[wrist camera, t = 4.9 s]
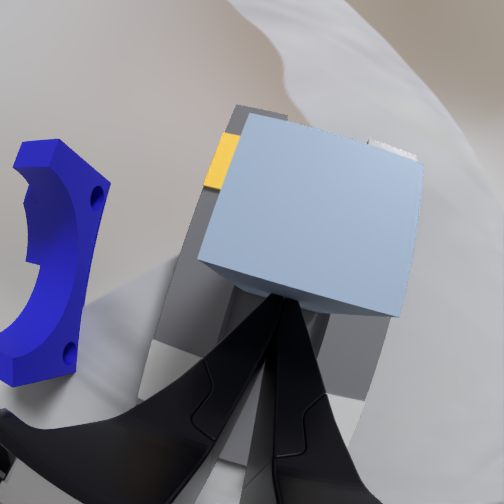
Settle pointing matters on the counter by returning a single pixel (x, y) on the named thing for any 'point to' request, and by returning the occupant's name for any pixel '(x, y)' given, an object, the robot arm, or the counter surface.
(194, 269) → the switch housing
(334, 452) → the robot arm
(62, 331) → the cable clip
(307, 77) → the counter surface
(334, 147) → the tab
